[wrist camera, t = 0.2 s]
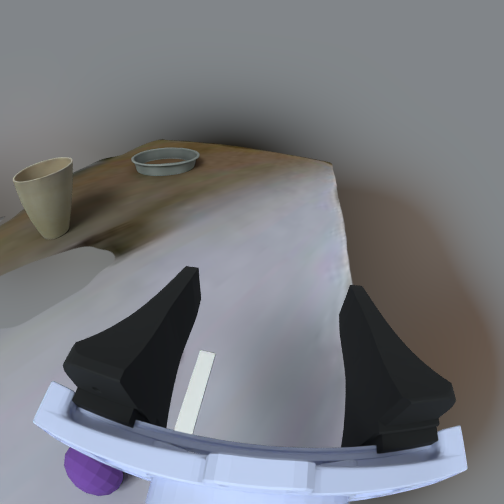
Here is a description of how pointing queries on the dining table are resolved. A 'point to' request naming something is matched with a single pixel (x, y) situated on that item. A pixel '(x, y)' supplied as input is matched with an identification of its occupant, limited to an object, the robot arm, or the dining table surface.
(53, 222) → the plant pot
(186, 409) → the strip
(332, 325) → the dining table surface
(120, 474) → the kendama
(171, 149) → the cake pan
